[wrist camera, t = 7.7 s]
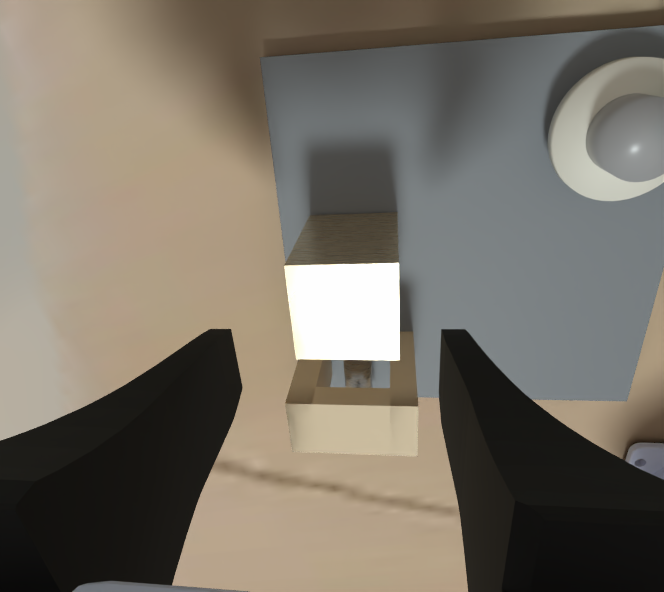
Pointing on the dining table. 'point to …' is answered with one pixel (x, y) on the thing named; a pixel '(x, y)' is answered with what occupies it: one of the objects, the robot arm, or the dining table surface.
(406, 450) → the grey dial panel
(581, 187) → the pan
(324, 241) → the beige rectangular block
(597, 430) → the dining table surface
